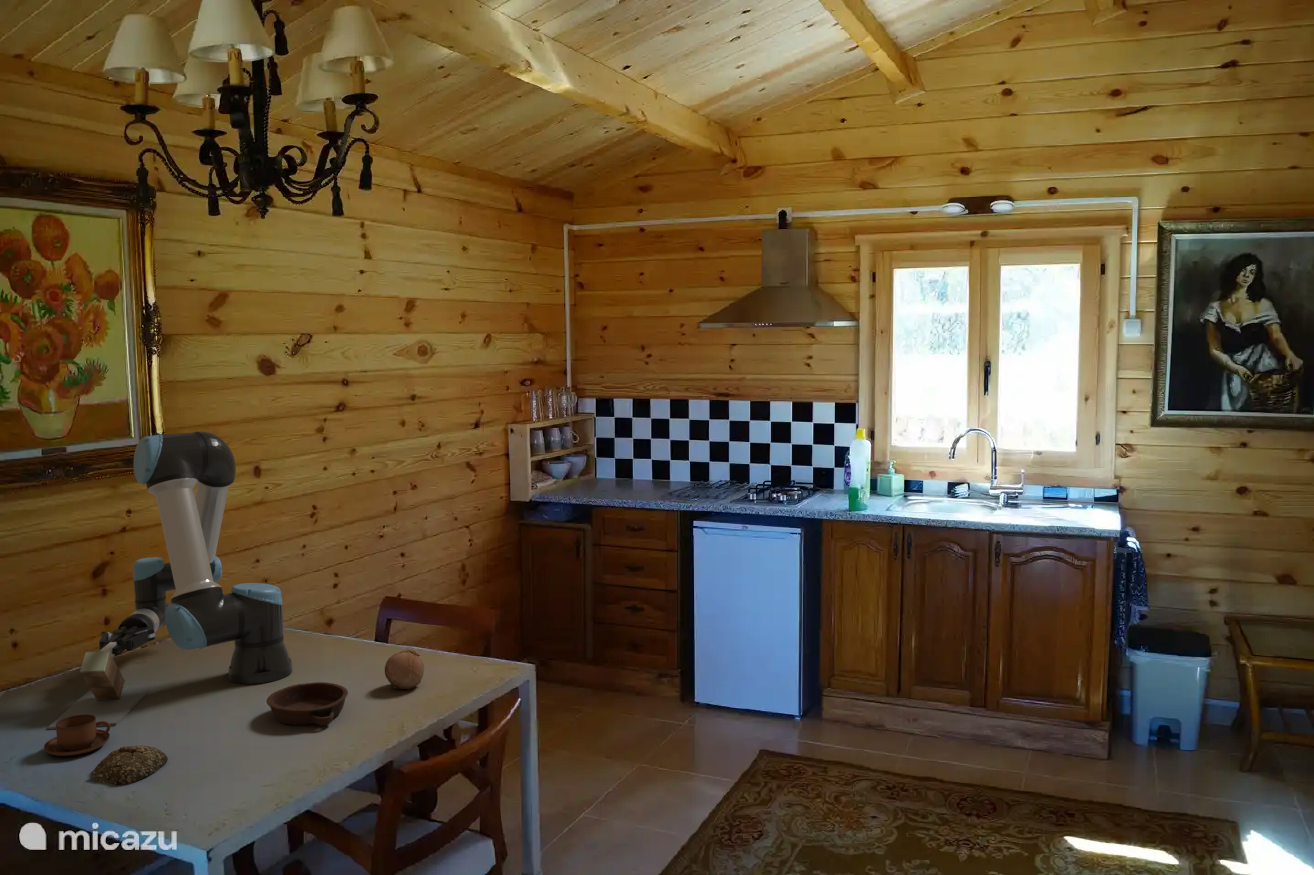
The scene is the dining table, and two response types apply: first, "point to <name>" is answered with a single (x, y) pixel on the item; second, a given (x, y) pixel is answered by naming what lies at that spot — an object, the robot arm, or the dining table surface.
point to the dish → (308, 703)
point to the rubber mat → (106, 706)
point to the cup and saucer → (77, 736)
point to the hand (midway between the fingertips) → (103, 656)
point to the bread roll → (129, 764)
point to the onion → (404, 669)
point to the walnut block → (102, 675)
